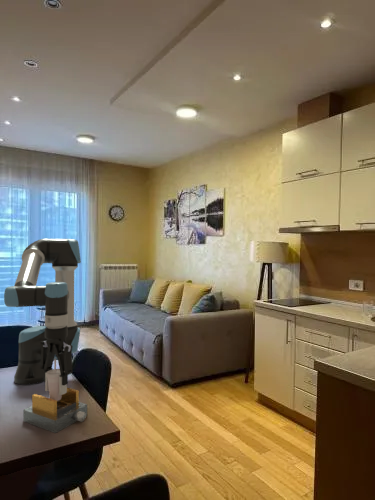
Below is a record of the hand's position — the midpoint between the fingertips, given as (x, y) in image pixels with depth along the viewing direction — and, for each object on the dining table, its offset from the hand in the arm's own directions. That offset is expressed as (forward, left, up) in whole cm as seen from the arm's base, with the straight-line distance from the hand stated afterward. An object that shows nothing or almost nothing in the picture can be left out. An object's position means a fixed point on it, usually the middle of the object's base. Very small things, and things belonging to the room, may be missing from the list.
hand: (55, 391), depth 124 cm
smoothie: (0, 0, -3) cm, 3 cm away
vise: (+1, 0, -9) cm, 10 cm away
